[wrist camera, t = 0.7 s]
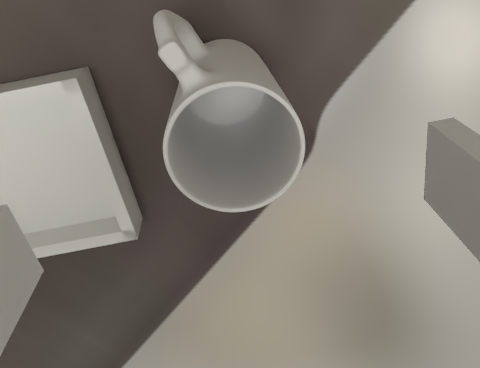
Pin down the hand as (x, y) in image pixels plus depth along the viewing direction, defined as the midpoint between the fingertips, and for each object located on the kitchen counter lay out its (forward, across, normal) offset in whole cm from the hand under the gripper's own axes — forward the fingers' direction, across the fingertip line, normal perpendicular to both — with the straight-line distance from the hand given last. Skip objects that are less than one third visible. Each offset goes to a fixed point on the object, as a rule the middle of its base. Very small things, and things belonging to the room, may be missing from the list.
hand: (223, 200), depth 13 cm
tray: (+18, -16, -5) cm, 25 cm away
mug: (+19, 0, 0) cm, 19 cm away
